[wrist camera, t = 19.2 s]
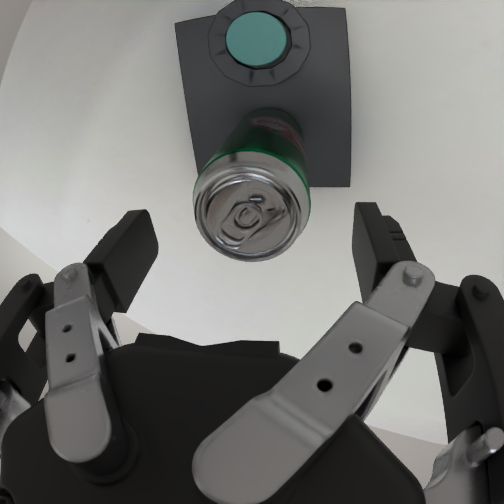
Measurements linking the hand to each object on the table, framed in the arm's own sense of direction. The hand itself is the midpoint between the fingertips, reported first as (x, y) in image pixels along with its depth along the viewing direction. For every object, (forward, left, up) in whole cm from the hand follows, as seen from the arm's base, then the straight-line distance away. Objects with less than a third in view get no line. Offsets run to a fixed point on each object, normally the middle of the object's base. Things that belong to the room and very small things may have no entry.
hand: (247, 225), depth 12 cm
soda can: (0, 0, -13) cm, 13 cm away
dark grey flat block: (-3, 0, -14) cm, 14 cm away
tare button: (-7, 0, -11) cm, 13 cm away
